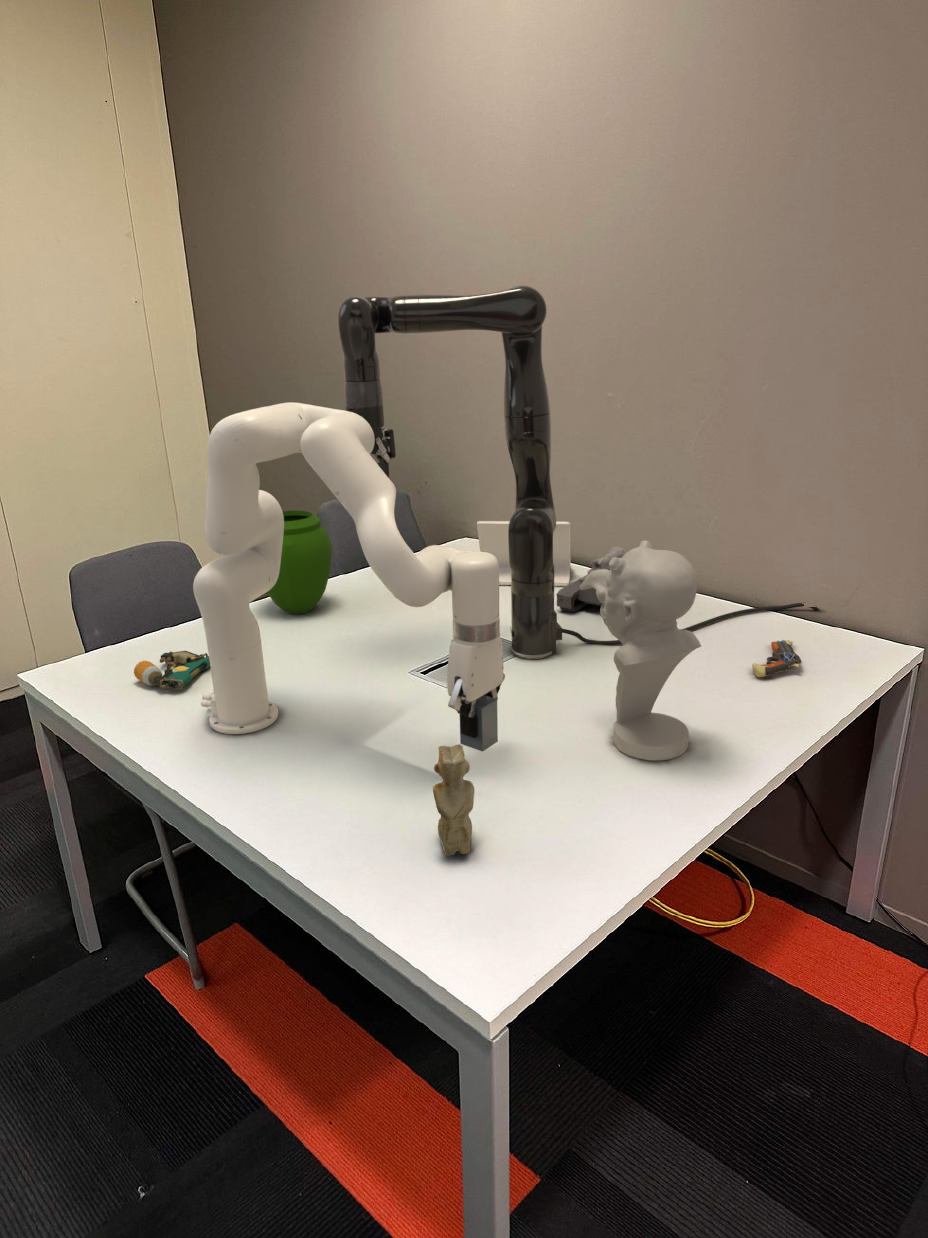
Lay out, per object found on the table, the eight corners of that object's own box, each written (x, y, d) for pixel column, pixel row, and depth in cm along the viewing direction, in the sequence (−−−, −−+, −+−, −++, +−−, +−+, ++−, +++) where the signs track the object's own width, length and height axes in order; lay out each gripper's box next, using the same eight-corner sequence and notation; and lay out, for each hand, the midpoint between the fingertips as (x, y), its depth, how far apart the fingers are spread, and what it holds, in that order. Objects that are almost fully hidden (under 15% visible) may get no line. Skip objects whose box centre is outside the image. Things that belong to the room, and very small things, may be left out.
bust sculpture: (625, 695, 166) (632, 519, 153) (713, 748, 146) (730, 550, 133) (556, 715, 159) (558, 532, 146) (639, 773, 139) (650, 567, 127)
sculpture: (474, 829, 125) (472, 739, 120) (477, 859, 119) (474, 765, 113) (434, 831, 125) (430, 741, 120) (435, 861, 119) (431, 767, 113)
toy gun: (755, 668, 170) (808, 665, 168) (743, 639, 188) (791, 635, 186) (755, 681, 171) (808, 678, 169) (744, 650, 189) (791, 647, 187)
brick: (475, 733, 148) (474, 691, 145) (497, 741, 145) (497, 699, 142) (460, 744, 145) (458, 701, 142) (482, 752, 142) (481, 708, 139)
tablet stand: (569, 585, 229) (570, 524, 223) (476, 584, 232) (475, 523, 226) (570, 566, 246) (571, 508, 240) (484, 564, 249) (483, 507, 243)
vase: (352, 603, 220) (345, 511, 212) (301, 627, 205) (291, 529, 197) (296, 592, 230) (287, 503, 222) (243, 614, 215) (231, 520, 206)
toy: (603, 584, 229) (605, 530, 224) (673, 597, 218) (677, 540, 213) (555, 612, 210) (556, 553, 205) (630, 627, 199) (633, 566, 194)
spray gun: (177, 659, 191) (231, 671, 185) (120, 684, 176) (176, 698, 171) (176, 641, 190) (230, 653, 184) (118, 665, 175) (174, 678, 169)
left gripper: (488, 609, 146) (489, 705, 152) (424, 640, 133) (429, 743, 140) (524, 617, 141) (524, 716, 148) (462, 650, 129) (465, 756, 136)
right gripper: (374, 398, 177) (379, 476, 183) (324, 406, 167) (331, 488, 173) (401, 400, 173) (406, 480, 179) (352, 408, 163) (358, 492, 168)
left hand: (478, 728), depth 144 cm, fingers closed on brick, 4 cm apart
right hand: (369, 484), depth 176 cm, fingers open, 8 cm apart
